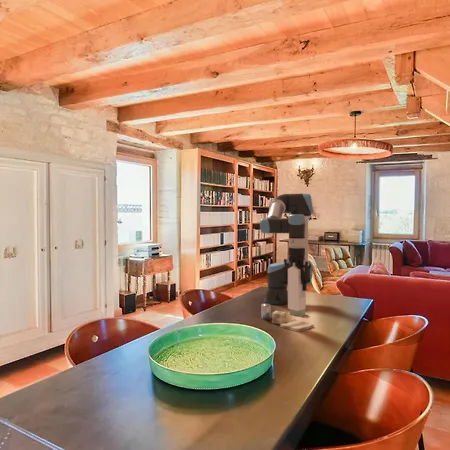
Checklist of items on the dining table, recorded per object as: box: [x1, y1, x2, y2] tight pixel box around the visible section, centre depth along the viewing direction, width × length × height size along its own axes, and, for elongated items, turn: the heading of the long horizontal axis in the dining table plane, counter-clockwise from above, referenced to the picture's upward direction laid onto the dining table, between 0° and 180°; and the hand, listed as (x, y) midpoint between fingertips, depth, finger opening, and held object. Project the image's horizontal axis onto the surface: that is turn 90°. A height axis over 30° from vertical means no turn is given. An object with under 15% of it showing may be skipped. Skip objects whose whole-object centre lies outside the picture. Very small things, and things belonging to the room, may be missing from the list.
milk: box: [287, 262, 307, 311], centre depth 174 cm, size 6×6×22 cm
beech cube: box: [271, 310, 287, 325], centre depth 182 cm, size 5×5×5 cm
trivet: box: [279, 319, 314, 333], centre depth 175 cm, size 11×11×1 cm
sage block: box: [289, 309, 306, 317], centre depth 196 cm, size 7×4×4 cm, turn 57°
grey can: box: [260, 302, 272, 321], centre depth 190 cm, size 5×5×7 cm
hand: (296, 296), depth 175 cm, fingers closed on milk, 6 cm apart
